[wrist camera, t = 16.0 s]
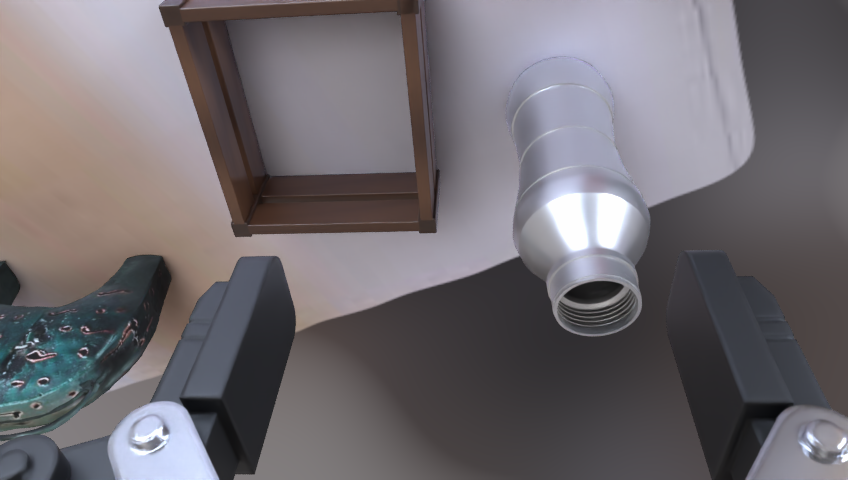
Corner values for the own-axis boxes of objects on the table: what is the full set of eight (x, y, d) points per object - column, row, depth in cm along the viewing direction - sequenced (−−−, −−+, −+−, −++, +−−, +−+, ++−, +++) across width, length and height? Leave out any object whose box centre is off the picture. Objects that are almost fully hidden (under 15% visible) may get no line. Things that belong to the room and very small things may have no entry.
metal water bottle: (607, 128, 44) (676, 352, 29) (508, 140, 45) (524, 363, 30) (607, 38, 40) (687, 242, 25) (498, 53, 41) (510, 259, 26)
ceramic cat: (-18, 299, 59) (-190, 507, 44) (-59, 245, 55) (-264, 453, 40) (188, 291, 57) (82, 508, 42) (161, 234, 53) (33, 451, 38)
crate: (195, -30, 39) (157, 5, 35) (424, -44, 38) (417, -9, 33) (257, 187, 49) (235, 237, 45) (440, 182, 48) (436, 233, 43)
